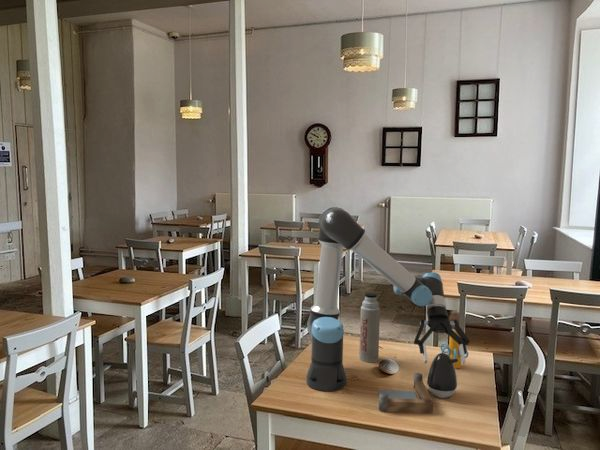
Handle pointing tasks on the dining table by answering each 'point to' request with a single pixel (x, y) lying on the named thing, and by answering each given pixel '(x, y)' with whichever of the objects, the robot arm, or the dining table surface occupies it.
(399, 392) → the pad
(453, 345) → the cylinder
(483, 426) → the dining table surface
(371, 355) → the thermos bottle
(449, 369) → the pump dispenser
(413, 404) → the wooden corner bracket
